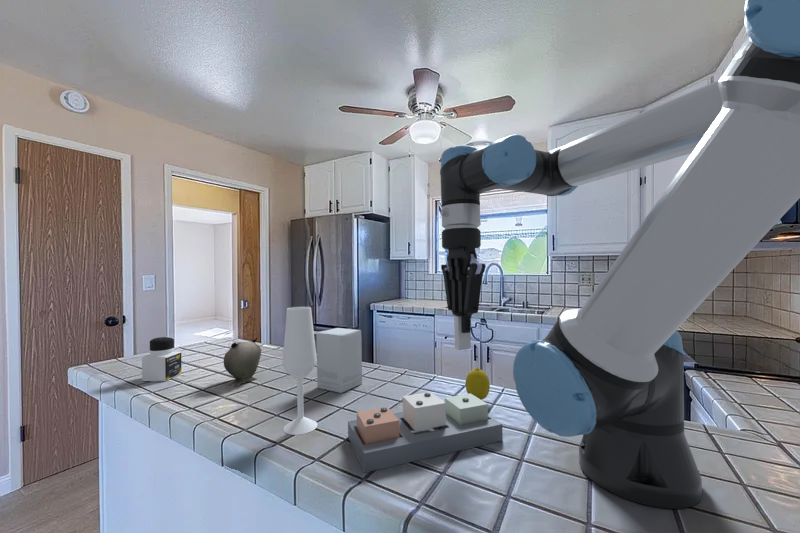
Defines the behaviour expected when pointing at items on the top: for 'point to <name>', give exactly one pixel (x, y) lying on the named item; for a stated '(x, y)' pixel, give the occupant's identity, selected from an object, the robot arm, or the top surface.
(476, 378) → the lemon
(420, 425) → the tile two
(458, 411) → the tile one
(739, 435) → the top surface
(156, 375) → the medicine bottle
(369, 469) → the console
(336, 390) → the supplement box
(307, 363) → the champagne flute
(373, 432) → the tile three
